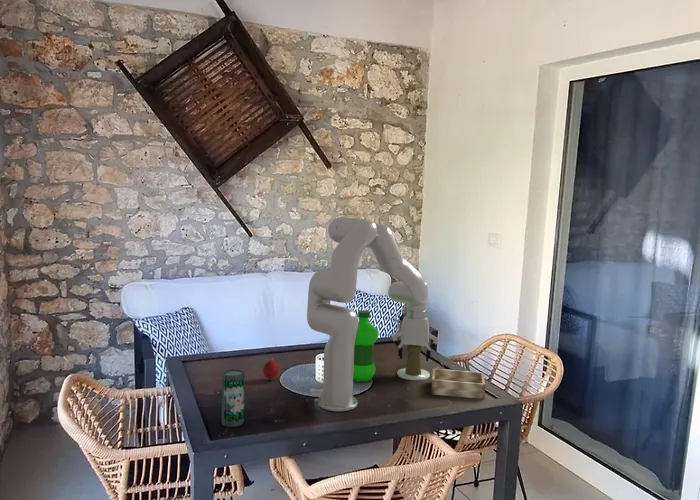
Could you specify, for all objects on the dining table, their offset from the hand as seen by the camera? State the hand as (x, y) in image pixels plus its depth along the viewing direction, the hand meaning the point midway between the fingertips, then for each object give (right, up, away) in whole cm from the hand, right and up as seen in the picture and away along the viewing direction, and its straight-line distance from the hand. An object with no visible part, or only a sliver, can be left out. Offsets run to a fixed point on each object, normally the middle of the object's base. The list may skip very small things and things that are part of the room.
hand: (414, 359), depth 215 cm
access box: (+14, -8, -14) cm, 21 cm away
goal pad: (0, -6, +1) cm, 6 cm away
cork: (0, -6, 0) cm, 6 cm away
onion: (-52, -6, -10) cm, 53 cm away
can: (-58, -10, -46) cm, 75 cm away
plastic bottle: (-20, -7, -6) cm, 22 cm away
